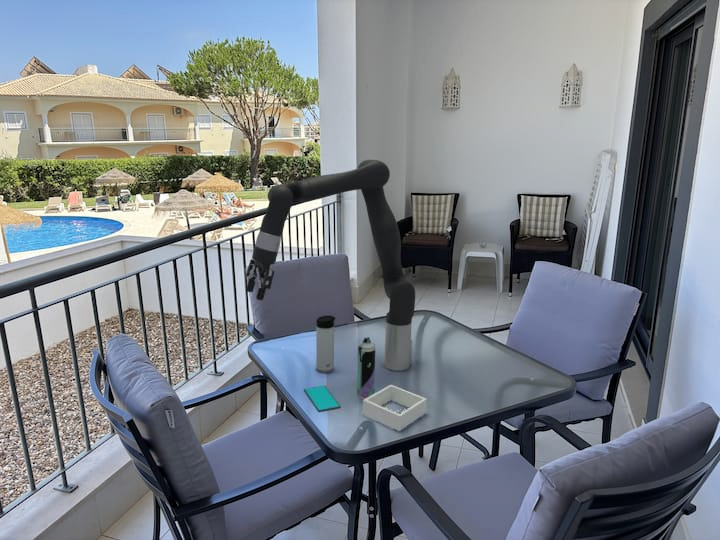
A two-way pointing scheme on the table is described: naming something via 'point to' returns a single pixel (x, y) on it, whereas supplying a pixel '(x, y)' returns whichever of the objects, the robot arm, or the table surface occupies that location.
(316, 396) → the smartphone
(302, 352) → the table surface
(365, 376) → the spray can
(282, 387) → the table surface
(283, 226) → the robot arm
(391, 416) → the white square tray
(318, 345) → the travel mug
